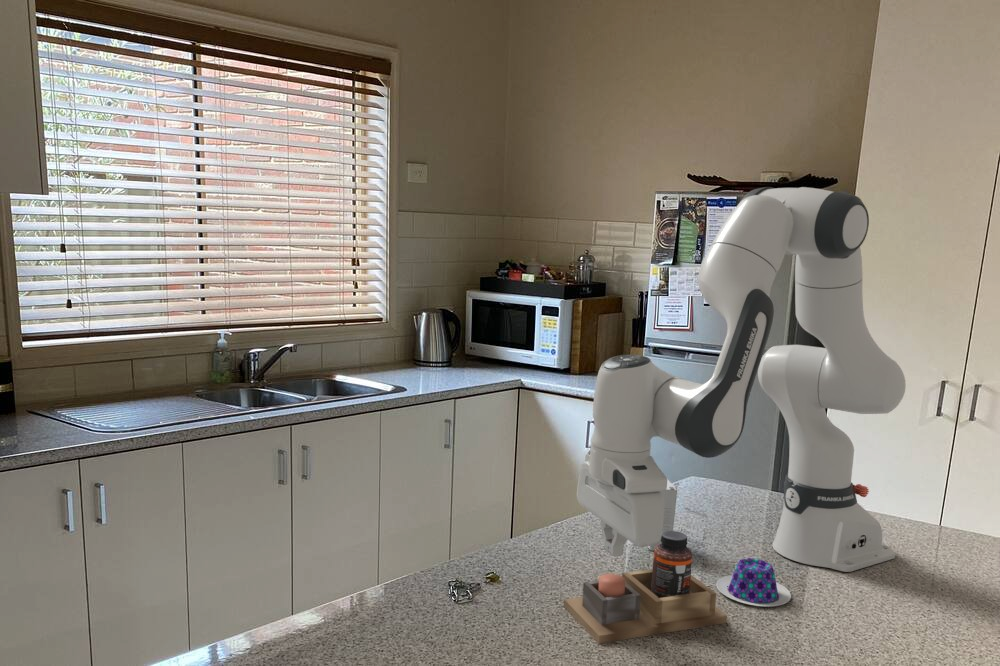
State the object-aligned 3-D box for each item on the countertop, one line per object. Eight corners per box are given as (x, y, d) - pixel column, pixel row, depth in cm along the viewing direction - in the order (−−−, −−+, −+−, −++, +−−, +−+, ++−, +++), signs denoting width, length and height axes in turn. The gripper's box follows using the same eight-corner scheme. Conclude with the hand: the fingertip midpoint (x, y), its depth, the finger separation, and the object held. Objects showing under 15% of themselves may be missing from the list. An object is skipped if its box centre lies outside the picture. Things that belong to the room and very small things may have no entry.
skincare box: (641, 538, 160) (645, 478, 158) (664, 539, 161) (668, 478, 159) (649, 551, 154) (654, 488, 152) (673, 551, 154) (677, 489, 153)
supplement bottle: (689, 614, 127) (694, 544, 125) (649, 609, 128) (654, 539, 127) (688, 597, 133) (693, 530, 131) (650, 593, 134) (655, 526, 132)
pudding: (783, 617, 130) (785, 586, 130) (707, 598, 136) (709, 568, 136) (796, 589, 141) (799, 560, 140) (726, 572, 147) (728, 544, 146)
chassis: (683, 589, 138) (685, 561, 138) (726, 622, 127) (728, 592, 127) (563, 606, 131) (565, 576, 130) (598, 643, 120) (600, 610, 119)
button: (616, 592, 129) (617, 572, 129) (629, 604, 125) (630, 583, 125) (593, 595, 128) (594, 575, 127) (605, 607, 124) (606, 586, 123)
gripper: (569, 446, 132) (564, 530, 134) (634, 485, 113) (627, 582, 115) (605, 444, 134) (599, 526, 136) (674, 482, 115) (667, 577, 117)
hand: (613, 552), depth 125 cm, fingers closed
